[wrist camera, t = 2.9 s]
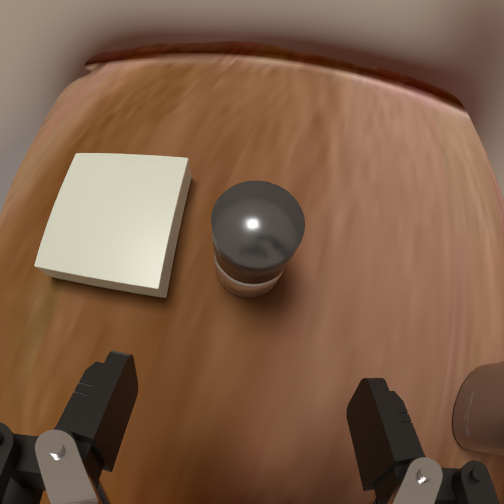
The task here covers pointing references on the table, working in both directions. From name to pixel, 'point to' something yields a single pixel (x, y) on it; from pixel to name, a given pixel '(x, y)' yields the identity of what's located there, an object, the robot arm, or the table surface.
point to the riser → (117, 222)
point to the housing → (255, 236)
